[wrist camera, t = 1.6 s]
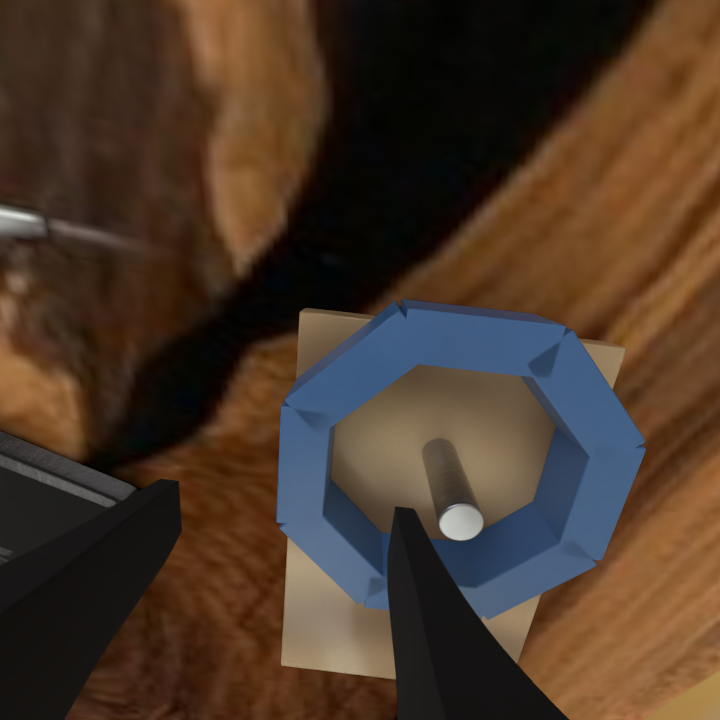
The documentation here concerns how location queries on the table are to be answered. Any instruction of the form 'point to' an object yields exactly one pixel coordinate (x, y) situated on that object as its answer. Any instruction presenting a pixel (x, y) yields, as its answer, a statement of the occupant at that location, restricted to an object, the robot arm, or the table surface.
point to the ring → (509, 535)
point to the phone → (47, 495)
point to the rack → (418, 486)
